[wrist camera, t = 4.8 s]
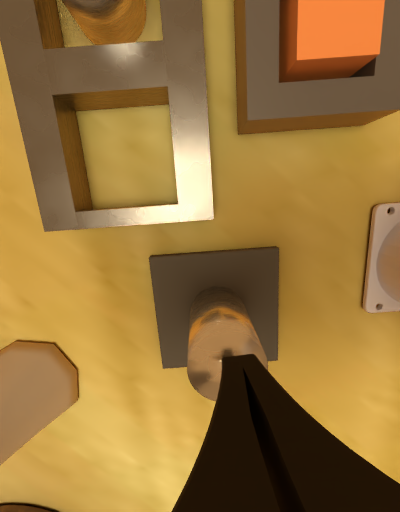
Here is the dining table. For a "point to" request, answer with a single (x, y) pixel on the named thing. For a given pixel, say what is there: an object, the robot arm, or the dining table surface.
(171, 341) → the rubber mat
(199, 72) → the grey flat rectangular frame
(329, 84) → the button housing
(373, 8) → the button
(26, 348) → the flask
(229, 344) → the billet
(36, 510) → the wooden container
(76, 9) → the light bulb
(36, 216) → the dining table surface
